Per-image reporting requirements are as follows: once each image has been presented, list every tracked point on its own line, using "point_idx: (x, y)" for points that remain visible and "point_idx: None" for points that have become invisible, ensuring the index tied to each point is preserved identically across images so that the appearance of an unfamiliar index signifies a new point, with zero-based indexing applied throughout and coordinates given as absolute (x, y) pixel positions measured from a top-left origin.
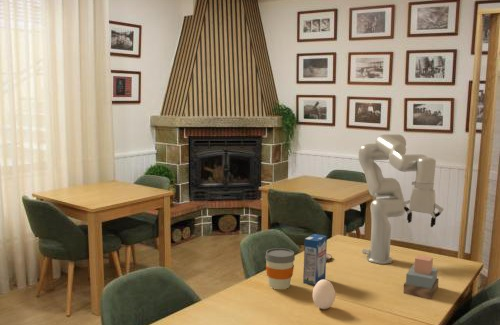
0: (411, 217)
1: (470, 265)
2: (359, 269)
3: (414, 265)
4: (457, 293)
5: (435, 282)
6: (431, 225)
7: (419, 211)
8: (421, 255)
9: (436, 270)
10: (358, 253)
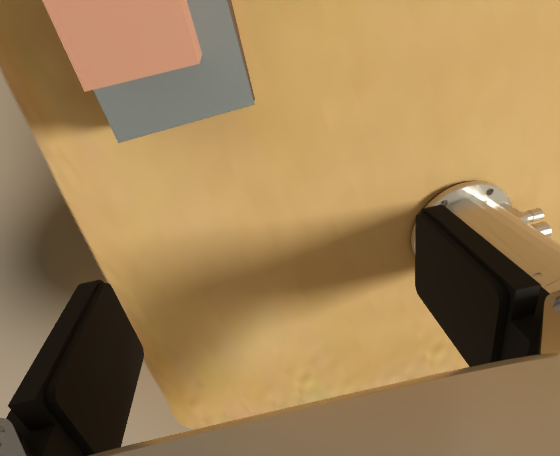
0: (446, 319)
1: (190, 401)
2: (505, 56)
3: (241, 88)
4: (28, 117)
5: None
6: (84, 293)
7: (313, 411)
8: (170, 61)
9: (101, 107)
10: None
